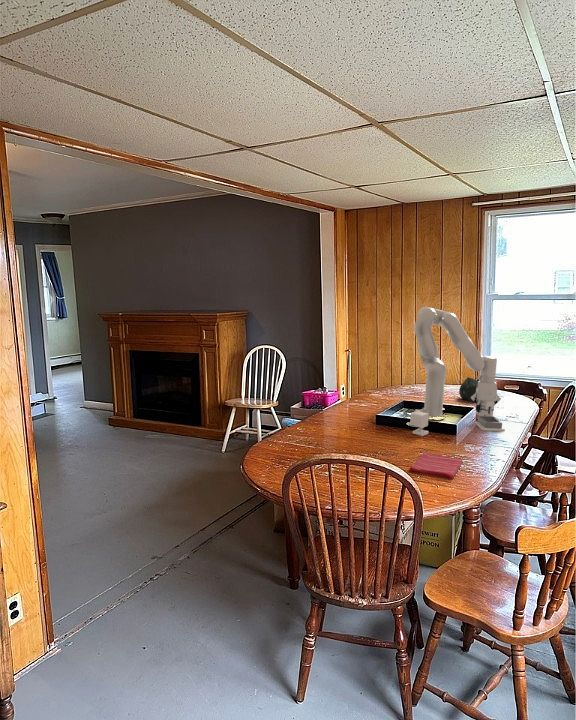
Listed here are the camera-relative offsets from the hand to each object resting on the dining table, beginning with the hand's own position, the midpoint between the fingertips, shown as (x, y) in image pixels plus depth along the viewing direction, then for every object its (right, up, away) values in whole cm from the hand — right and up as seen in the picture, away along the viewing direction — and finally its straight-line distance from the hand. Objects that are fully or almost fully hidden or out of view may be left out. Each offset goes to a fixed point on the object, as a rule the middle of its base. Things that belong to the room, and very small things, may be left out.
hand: (484, 411), depth 287 cm
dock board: (-2, -7, -11) cm, 13 cm away
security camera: (-41, -8, -26) cm, 50 cm away
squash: (+9, +3, +48) cm, 49 cm away
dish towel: (-46, -16, -71) cm, 86 cm away
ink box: (0, -5, +1) cm, 5 cm away
